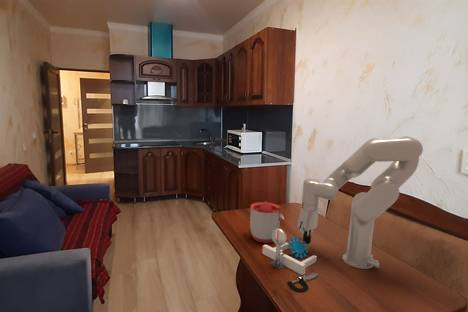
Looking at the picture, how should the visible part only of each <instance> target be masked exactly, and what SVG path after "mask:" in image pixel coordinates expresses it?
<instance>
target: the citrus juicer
mask: <svg viewBox="0 0 468 312" xmlns="http://www.w3.org/2000/svg"><path fill="white" fill-rule="evenodd" d="M249 206H250V216H249V217H250V219H249V222H250V223H249V227H250V233H251V236H252V239H253V240H255V242H259V243H265V244H267V243H268V244H269V243H272V242H273V240H272V231H273V230H275V229H277V228H280V222H281V220H285V217H284V215H283V214H282V213H281V206H280V205H278V204H276V203H273V202H268V201H264V202H254V203H252V204H250V205H249ZM273 243H274V242H273Z"/></svg>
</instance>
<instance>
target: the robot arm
mask: <svg viewBox="0 0 468 312" xmlns="http://www.w3.org/2000/svg"><path fill="white" fill-rule="evenodd" d="M423 150H424V149H423V143H421V142H420V141H419V140H418V139H417V138H414V137H411V136H406V135H405V136H401V137H399V138H397V139H379V138H370V139H368V140H366V141H365V143H363V144H362V145H360V147H359V148H358V149H356V151H355V152H353V153H352V154H351V155H350V156H349V157H348V158H347V159H345V161H343V162H342V163H341V165H340V166H338V167H337V168H336V169H335V170H333V171H332V173H331V174H329V175H328V176H327V177H326V178H325V179H324V180H323V181H322V182H321V181H320V180H318V179H316V178H305V179H304V180H303V185H302V187H303V188H302V195H301V198H302V199H301V208H300V211H299V215H298V218H297V225H296V226H297V229H299V233H300V234H302V242H303V241H305V244H306V245H309V244H311V243H312V242H311V240H312V235H313V231H314V230H315V229H316V228H317V227H318V223H319V205H320V203H319V202H320V198H321V199H323V200H328V201H329V200H334V199H335V198H336V197H337V195H338V190H339V189H340V188H342V187H344V185H345V184H346V183H348V182H349V181H351V180H352V179H354V178H358V177H359V176H361V175H362V174H364V172H366V171H367V170H368V169H369V168H370V167H371V166H372V165H374V164H375V163H376V162H381V163H382V162H392V163H391V164H390V165H389V166H388V167H387V168H386V169H385V170H383V171H382V172H381V173H380V174H379V175H378V176H377V177H376V178H374V179H373V181H371V185H370V189H369V190H368V191H367V192H365V191H363V192H362V191H361V192H359V193H356V194H355V195H354V197H353V198H352V199H351V209H350V221H349V222H350V223H349V227H348V228H349V230H348V239H347V249H346V252H345V253H344V254H343V255H342V261H343V262H344V263H345V264H347V265H348V266H350V267H353V268H356V269H360V270H369V269H371V268H373V267H375V268H379V267H380V262H379V260H377V259H374V257H373V254H372V246H373V245H372V244H373V243H372V242H373V236H374V235H373V234H374V228H375V220H376V219H377V218H379V216H382V214H383V213H384V212H386V211H387V210H388V209H389V208H390V207H391V206H392V205H394V204H395V202H396V201H397V200H398V199H399V197H400V187H402V186H403V185H404V184H405V183H406V182H407V181H408V180H409V179H411V177H412V176H413V175H414V173H416V171H417V168H418V166H419V164H420V163H419V161H420V157H421V156H422V154H423Z"/></svg>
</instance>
